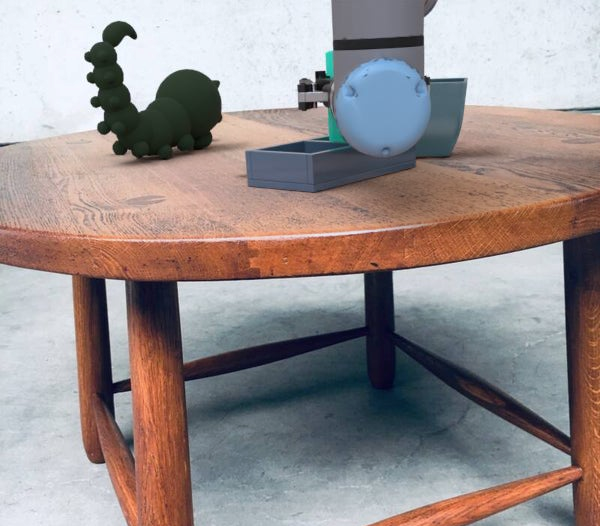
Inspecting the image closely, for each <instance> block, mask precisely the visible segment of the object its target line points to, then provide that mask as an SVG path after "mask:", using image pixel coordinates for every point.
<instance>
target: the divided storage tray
mask: <svg viewBox="0 0 600 526" xmlns="http://www.w3.org/2000/svg"><path fill="white" fill-rule="evenodd" d="M244 157H245V167H246V168H245V169H246V183H247V187H253V188H263V189H273V190H283V191H294V192H304V193H305V192H306V193H317V192H322V191H325V190H329V189H333V188H336V187H341V186H345V185H349V184H354V183H356V182H362V181H366V180H369V179H373V178H377V177H380V176H381V177H382V176H385V175H388V174H393V173H398V172H402V171H405V170H408V169H413V168H416V166H417V161H416V159H417V157H416V144H415V145H413V146H412V147H411V148H410V149H408V150H407V151H405V152H403V153H401V154H398V155H395V156H391V157H386V158H384V157H375V156H370V155H366V154H364V153H361V152H359V151H358V150H356V149H354V148H353V147H352V146H350V145H349V144H348V143H346V142H339V141H329V134H327V135H322V136H317V137H311V138H306V139H299V140H295V141H289V142H285V143H284V142H283V143H278V144H273V145H268V146H262V147H258V148H252V149H246V150H245V151H244Z"/></svg>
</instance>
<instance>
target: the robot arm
mask: <svg viewBox="0 0 600 526" xmlns="http://www.w3.org/2000/svg"><path fill="white" fill-rule="evenodd" d="M438 1H439V0H330V2H331V7H330V8H331V26H332V28H331V29H332V51H333V75H334V76H333V78H332V79H331V78H330V76H326V70H315V71H314V81H313V80H312V79H311V78H307V77H302V78H301V79H298V84H297V85H296V88H297V109H298V111H302V112H307V111H308V110H312V109H318V103H319V104H322V105H323V106H324V107H325V108H327V109H328V108H330V110H331V113H332V115H333V117H334V119H335V122H336V126H337V127H338V128H339V132H340V134H341V135H342V137H343V139H344V140H345V141H346V143H348V144H349V145H350V146H352V147H353V148H354V149H356V150H358V151H359V152H361V153H364V154H366V155H370V156H375V157H384V158H386V157H391V156H395V155H398V154H401V153H403V152H405V151H407V150H408V149H410V148H411V147H412V146H413V145H415V144H416V142H417V141H418V140H419V139H420V138H421V137H422V135H423V134H424V132H425V130H426V128H427V125H428V122H429V119H430V113H431V101H430V79H431V76H428V75H425V35H424V34H425V33H424V32H425V18H426V17H427V16H428V15H429V14H430V13H431V12H432V11H433V10H434V8H435V6H436V5H437V3H438Z"/></svg>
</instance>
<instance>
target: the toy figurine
mask: <svg viewBox="0 0 600 526" xmlns="http://www.w3.org/2000/svg"><path fill="white" fill-rule="evenodd" d="M125 37H129V38H130V39H132V40H134V41H135V40H138V34H137V31H136V30H135V28H134V26H132V25H131V24H130V23H128V22H127V21H122V20H116V21H113V22H110V23H108V24H107V25H106V26H105V27H104V29H103V30H102V34H101V39H102V41H98V42H96V43H94V44H93V45H92V46H91V48H90V50H88V51H86V52H85V53H84V55H83V58H84V61H85V62H86V63H90V64H91V65H92V66H93V69H92V71H89V72H88V73H87V74H86V81H87V83H89V84H92V85H94V84H95V86H96V87H97V88H98V91H97V95H94V96H92V97H91V98H90V100H89V103H90V105H91V106H92V108H94V109H98V108H101V110H103V120H101V121H99V122H98V123H97V125H96V131H97V132H98V133H99V134H100V135H102V136H106V135H108V134H109V133H110V132H111V133H112V134H114V135H115V136H116V138H117V139H116V140H115V141H114V142H113V143H112V145H111V146H112V147H111V149H112V151H113V153H114V154H115V155H116V156H125V155H126V154H127V153H128V152H129V151H130V153H131V155H132V156H133V157H135V158H137V159H142V158H143V157H146V156H147V157H155V156H158V157H159V158H161V159H163V160H168V159H169V158H172V156H173V153H174V150H173V148H177V150H178V151H180V152H191V150H192V149H193V150H201V149H206V148H208V147H209V146H210V145H211V144H212V142H213V138H214V137H213V134H212V132H211V131H212V130H213V129H214V128H215V127H216V126H217V125H218V124H219V123H222V121H223V114H222V111H223V109H222V107H223V104H222V103H223V102H222V96H221V94H220V91H219V88H220V85H221V81H220V80H219V79H211V78H210V77H209V76H207V74H205V73H204V72H202V71H199V70H195V69H193V68H192V69H191V68H184V69H183V68H182V69H178V70H175V71H173V72H172V73H169V74H168V75H167V76H166V77H165V78H164V79H163V80H162V81H161V82H160V84H159V86H158V88H157V90H156V93H155V97H154V100H153V101H151V102H150V103H148V105H147V107H146V108H145V109H143V110H138V107H137V106H136V105H135V104H134V103H133V102H132V96H131V92H130V90H129V88H128V87H127V85H126V84H125V83H124V81H125V75H124V74H125V73H124V70H123V68H122V67H121V65H120V64H119V63H118V53H117V51H116V47H117V48H118V46H120V44H121V43H122V41H123V40H124V38H125Z"/></svg>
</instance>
